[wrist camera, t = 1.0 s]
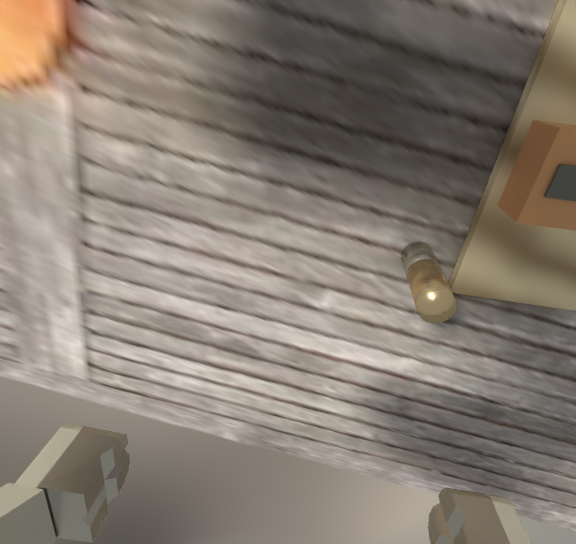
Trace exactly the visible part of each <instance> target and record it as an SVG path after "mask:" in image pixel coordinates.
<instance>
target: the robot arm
mask: <svg viewBox="0 0 576 544" xmlns="http://www.w3.org/2000/svg"><path fill="white" fill-rule="evenodd" d="M127 444H128V439H127V434H123V433H118V432H112V431H107V430H102V429H97V428H92V427H87V426H82V425H76V424H70V423H67V424H65V425H64V426H63V427H61V428H60V429H59V430H58V431H57V432H56V434H55V435H54V436H53V437H52V439H51V440H50V441H49V442H48V443H47V445H46V446H45V447H44V448H43V450H42V451H41V452H40V453H39V454H38V456H37V457H36V458H35V459H34V461H33V462H32V463H31V464H30V465H29V467H28V468H27V469H26V470H25V472H24V473H23V474H22V475H21V477H20V478H19V479H18V480H17V481H16V483H15V484H11V483H8V484H6V485H4V486H2V487H1V488H0V544H53V543H54V542H55V541H56V540H57V538H64V539H71V540H78V541H85V542H91V543H93V541H94V540H95V537H96V536H97V534H98V532H99V530H100V528H101V526H102V524H103V523H104V521H105V519H106V517H107V515H108V505H107V502H109V501H110V500H111V499H113V498H114V497H116V496H117V495H118V494H119V492H120V490H121V488H122V486H123V484H124V482H125V479H126V476H127V473H128V470H129V463H130V461H129V454H128V453H127V452H126V451H125V450H124V449H125V448H126V446H127ZM439 500H440V503H439V504H437V505H436V506H434V507H433V508H432V510H431V512H430V515H429V523H428V524H429V525H428V529H429V538H430V542H431V544H532V543H531V541H530V539H529V537H528V535H527V533H526V531H525V529H524V527H523V525H522V523H521V521H520V519H519V517H518V514H517V512H516V510H515V508H514V506H513V504H512V503H511V502H510V501H509V500H508V499H507V498H504V497H499V496H492V495H485V494H484V493H477V492H471V491H464V490H457V489H451V488H444V489H442V490H441V492H440V494H439ZM56 537H57V538H56Z"/></svg>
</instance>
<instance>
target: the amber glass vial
mask: <svg viewBox="0 0 576 544" xmlns="http://www.w3.org/2000/svg"><path fill="white" fill-rule="evenodd" d="M401 259H402V263H403V266H404V269H405V272H406V276H407V279H408V282H409V285H410V289H411V292H412V295H413V298H414V302H415V305H416V308H417V311H418V314H419V316H420V317H421V318H422V319H423V320H425V321H427V322H430V323H440V322H444V321H446V320H448V319H450V318H451V317H452V316H453V315H454V314H455V313H456V311H457V301H456V299H455V297H454V295H453V293H452V291H451V289H450V287H449V285H448V283H447V281H446V279H445V277H444V275H443V272H442V270H441V268H440V266H439V264H438V262H437V260H436V258H435V256H434V254H433V252H432V250H431V248H430V247H429V246H428V245H427V244H425V243H422V242H415V243H411V244H409V245H408V246H406V247H405V248H404V250H403V251H402V254H401Z"/></svg>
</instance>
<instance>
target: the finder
mask: <svg viewBox="0 0 576 544" xmlns="http://www.w3.org/2000/svg"><path fill="white" fill-rule="evenodd" d="M498 206H499V207H500V208H501V209H502V210H503V211H504V212H505V213H506V214H507V215H509V216H510V217H511V218H512V219H513V220H514V221H515V222H516V223H522V224H530V225H537V226H545V227H552V228H560V229H567V230H574V231H576V125H574V124H565V123H556V122H548V121H539V120H533V121H532V124H531V126H530V128H529V131H528V133H527V136H526V138H525V140H524V143H523V145H522V147H521V150H520V152H519V155H518V157H517V159H516V162H515V164H514V167H513V169H512V171H511V174H510V176H509V179H508V181H507V183H506V186H505V188H504V191H503V193H502V195H501V198H500V200H499V202H498Z"/></svg>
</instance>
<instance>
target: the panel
mask: <svg viewBox="0 0 576 544" xmlns="http://www.w3.org/2000/svg"><path fill="white" fill-rule="evenodd" d="M533 120H539V121H548V122H556V123H565V124H574V125H576V0H559V1H558V3H557V6H556V8H555V11H554V14H553V16H552V19H551V21H550V24H549V26H548V29H547V32H546V34H545V37H544V39H543V42H542V44H541V47H540V49H539V52H538V55H537V57H536V60H535V62H534V65H533V67H532V70H531V73H530V75H529V78H528V80H527V83H526V85H525V88H524V91H523V93H522V96H521V98H520V101H519V103H518V106H517V108H516V111H515V114H514V116H513V119H512V121H511V124H510V126H509V129H508V132H507V134H506V137H505V139H504V142H503V144H502V147H501V150H500V152H499V155H498V157H497V160H496V162H495V165H494V168H493V170H492V173H491V175H490V178H489V180H488V183H487V185H486V188H485V191H484V193H483V196H482V198H481V201H480V203H479V206H478V209H477V211H476V214H475V216H474V219H473V221H472V224H471V227H470V229H469V232H468V234H467V237H466V239H465V242H464V244H463V247H462V250H461V252H460V255H459V257H458V260H457V262H456V265H455V268H454V270H453V273H452V275H451V278H450V280H449V283H448V285H449V287H450V289H451V291H452V293H456V294H463V295H470V296H476V297H483V298H490V299H497V300H504V301H510V302H517V303H524V304H531V305H537V306H544V307H551V308H558V309H564V310H571V311H576V231H574V230H567V229H560V228H552V227H545V226H537V225H530V224H522V223H516V222H515V221H514V220H513V219H512V218H511V217H510V216H509V215H507V214H506V213H505V212H504V211H503V210H502V209H501V208H500V207H499V206H498V202H499V200H500V198H501V195H502V193H503V191H504V188H505V186H506V183H507V181H508V179H509V176H510V174H511V171H512V169H513V167H514V164H515V162H516V159H517V157H518V155H519V152H520V150H521V147H522V145H523V143H524V140H525V138H526V136H527V133H528V131H529V128H530V126H531V124H532V121H533Z"/></svg>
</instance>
